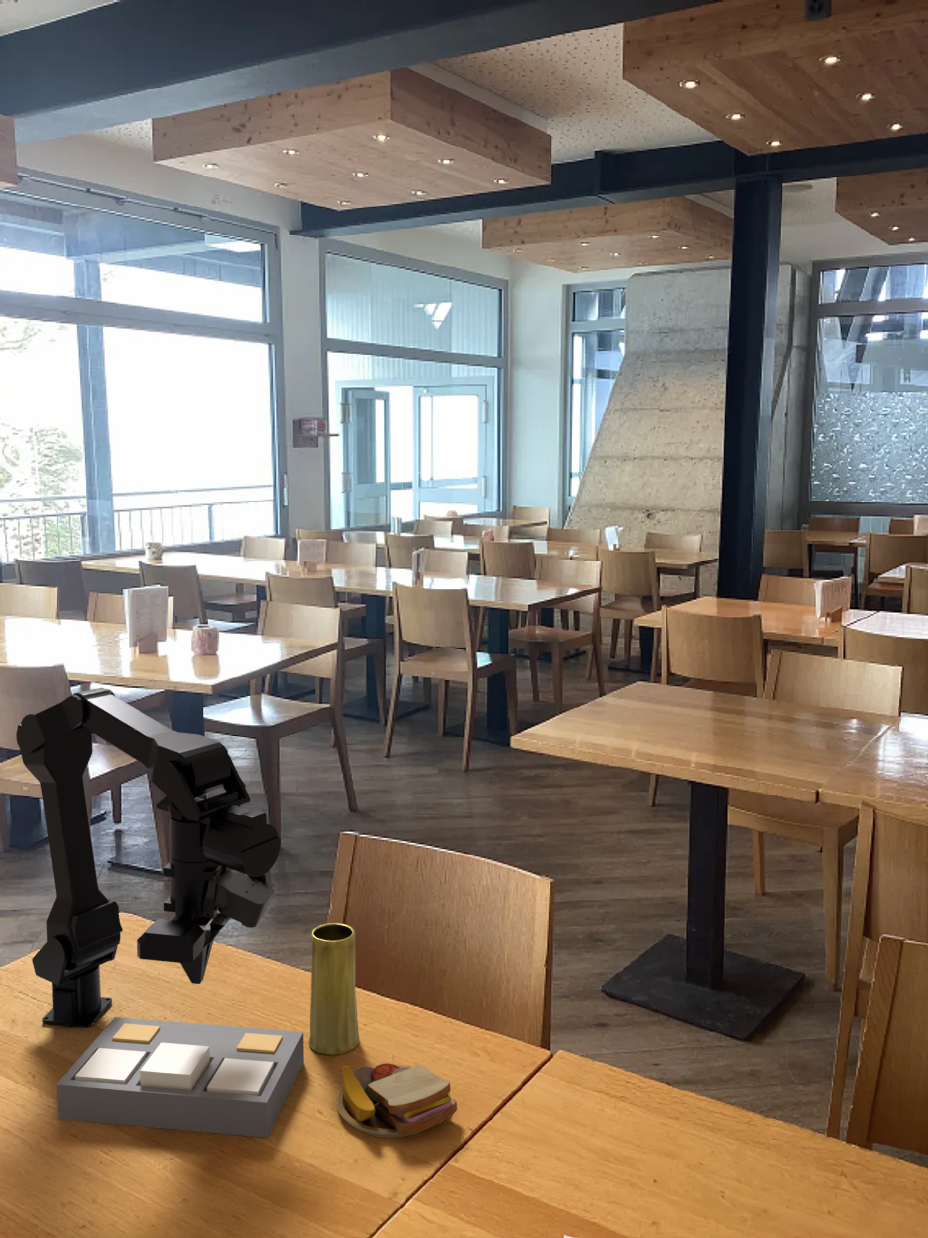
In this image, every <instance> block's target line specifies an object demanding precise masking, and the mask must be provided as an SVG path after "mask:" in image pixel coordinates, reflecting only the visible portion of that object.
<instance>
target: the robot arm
mask: <svg viewBox="0 0 928 1238" xmlns="http://www.w3.org/2000/svg"><path fill="white" fill-rule="evenodd" d="M94 735H96V736H97V737H98V738H100V739H101V740H104V741H106V742H107V743H108V744H110V745H112V746H113V747H115V748H116V749H118V750H120V751H121V752H123V753H125V754H126V755H127V756H129V757H131V758H132V759H134V760H136V761H137V762H138V763H140V764H142V765H143V766H144V767H145V768H147V770H148V774H149V778H150V782H151V783H152V784H153V785H154V786H155V787H156V788H157V789H159V790H160V792H161V793H163V794H164V795H165V796H164V797H163V798H162V799H161V800H160V801H158V802H157V803H156V805H155V807H156V809H157V810H159V811H161V812H165V813H168V814H169V862H168V863H167V864H166V865H164V866H163V870H162V871H163V873H162V875H163V877H164V878H165V877H166V878H169V879H170V880H169V889H170V892H169V893H170V896H168V898H167V899H165V901H164V902H163V911H164V912H166V913H167V912H168V913H169V912H170V913H175V916H174V917H173V918H171V919H162V918H158V919H156V920H155V921H154V922H153V923H152V924H150V925H149V927H147V929H146V930H145V931H144V932H143V933H142V934H141V935H140V936H139V937H138V938H137V940H136V951H137V952H136V953H137V957H138V959H140V960H146V961H147V960H148V961H157V962H166V963H176V964H180V966H181V967H182V969H183V971H184V972H185V974H186V976H187V978H188V980H189V981H190V983H191V984H192V985H200V984H201V983H202V982H203V981H204V977H205V974H206V971H207V967H208V963H209V959H210V955H211V951H212V947H213V944H214V941H215V939H216V937H217V936H218V935H219V933H220V931H221V930H222V929H223V928H224V927H225V926H226V924H227V923H229V921H230V920H231V919H232V920H234V921H237V922H238V923H240V924H241V925H242V926H243V927H245V928H251V929H253V928H256V927H257V926H258V924H259V922H260V921H261V920H262V919H263V917H264V916H265V915H266V912H267V910H268V906H269V905H270V902H271V901H272V900H271V899H272V897H273V896H274V894H275V890H274V887H275V883H272V874H271V873H272V872H271V869H272V868H273V866H274V865H275V863H277V862H276V861H277V859H278V858H279V854H280V851H281V843H282V842H281V837H279V833H278V830H277V829H276V828H275V826H274V825H272V824H269V823H268V822H267V821H268V814H267V812H264V811H261V810H257V809H256V810H255V809H253V810H252V809H249V808H245V807H242V806H243V805H246V804H250V802H251V797H250V795H249V793H248V791H247V789H246V788H247V786H246V784H245V783H244V781H243V779H242V778H241V776H240V774H239V772H238V770H237V768H236V766H235V764H234V762H233V759H232V758H231V756H230V754H229V750H228V749H227V747H226V746H225V745H224V744H223V743H221V742H220V741H219V740H216V739H213V738H210V737H207V736H204V735H201V734H197V733H187V732H178V731H175V730H173V729H171V728H169V727H167V726H166V725H164V724H162V723H160V722H159V721H158V720H156V719H153V718H152V717H150V716H149V715H147V714H145V713H143V711H141V710H138V709H137V708H135V707H133V706H132V705H130V704H129V703H127V702H126V701H123V700H122V699H120V698H118V697H117V696H116V695H115V693H114V692H113V691H112V690H111V689H108V688H104V687H98V688H92V689H88V690H84V691H79V692H75V693H72V694H71V695H70V696H68V697H66V698H64V699H63V700H62V701H60V702H59V703H56V704H54V705H51V706H49V707H47V708H46V709H44V710H42V711H37V712H33V713H30V714H25V716H24V717H23V718H22V720H21V722H20V723H19V724H18V726H17V729H16V735H15V736H16V739H15V740H16V742H17V746H18V747H19V750H20V755H21V758H22V763H23V765H24V767H25V768H26V769H27V770H28V771H29V772H30V773H31V774H32V776H33V777H35V779H36V780H37V781H38V782H39V784H40V790H41V795H42V796H41V797H42V798H41V799H42V803H43V804H42V805H43V810H44V818H45V823H46V824H45V825H46V832H47V839H48V846H49V853H50V860H51V867H52V874H53V881H54V887H55V895H56V896H55V899H54V902H53V905H52V907H51V909H50V912H49V914H48V917H47V919H46V942H45V944H43V946H42V947H41V948H40V949H39V950H38V951H37V952H36V954H35V955H34V956H33V957H32V959H31V961H32V964H33V966H32V967H33V969H34V973H35V975H36V976H37V977H39V978H41V979H44V980H45V981H48V982H49V983H51V990H52V991H51V997H52V1008H50V1010H49V1011H48V1012H47V1013H46V1014H45V1015H44V1016H43V1017H42V1018H41V1022H42V1024H49V1025H60V1026H73V1027H74V1026H76V1027H87V1028H88V1027H92V1025H94V1023H95V1022H96V1021H97V1020H98V1019H99V1018H100V1017H101V1015H102V1014H103V1013H104V1012H105V1011H106V1010H107V1009H108V1007H109V1006H110V1005H111V1004H112V1003H113V998H112V997H105V996H104V997H103V996H102V994H101V993H102V992H101V972H100V971H101V970H100V966H102V965H103V964H106V963H109V962H111V961H114V960H115V958H116V955H117V950H118V946H119V945H120V944H121V937H122V936H121V933H122V932H123V930H124V929H123V927H122V924H121V920H120V906H119V904H118V903H117V902H116V900H112V901H110V900H109V899H108V897H107V896H106V895H105V894H104V893H103V892H102V891H101V890H100V889H99V883H98V877H97V869H96V861H95V855H94V848H93V847H94V846H93V840H92V835H91V834H92V832H91V827H90V821H89V820H90V819H89V812H88V805H87V804H88V803H87V798H86V793H85V792H86V791H85V783H84V774H85V772H86V769H87V767H88V764H89V763H90V760H91V759H92V755H93V736H94ZM222 789H223V790H224V792H222V793H219V794H216V795H214V796H210V797H208V798H204V799H203V798H201V797H202V796H206V795H208V794H210V793H213V792H216V791H219V790H222Z"/></svg>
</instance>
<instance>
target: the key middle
mask: <svg viewBox="0 0 928 1238" xmlns="http://www.w3.org/2000/svg"><path fill="white" fill-rule="evenodd" d="M209 1065H210V1055H209V1046H198V1045H185V1044H173V1043H160V1045H159V1046H158V1047H157V1049H156V1050H155V1052H154V1053H153V1054H152V1056H151V1057H150V1058H149V1060H148V1061H147V1062H146V1064H145V1065H144V1066H143V1068H142V1069H141V1070H140V1082H141V1086H147V1087H158V1088H170V1089H182V1090H194V1088H195V1087H196V1085H197V1083H198V1082H199V1080H200V1079H201V1077H202V1076H203V1074H204V1072H205V1071H206V1069H207V1068H208V1066H209Z"/></svg>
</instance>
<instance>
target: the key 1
mask: <svg viewBox="0 0 928 1238" xmlns="http://www.w3.org/2000/svg"><path fill="white" fill-rule="evenodd" d="M145 1060H146V1052H143V1051H131V1050H119V1049H106V1048H98V1050H97V1051H96V1052H95V1053H94V1054H93V1056H92V1057H91V1058H90V1059H89V1060H88V1061H87V1063H86V1064H85V1065H84V1066H83V1067H82V1068H81V1070H80V1071H79V1072H78V1073H77V1074H76V1076H75V1080H77V1081H88V1082H100V1083H112V1084H123V1085H127V1083H128V1082H129V1081H130V1079H131V1078H132V1077H133V1075H134V1074H135V1073H136V1072H137V1070H138V1069H139V1068H140V1066H141V1065H142V1064H143V1062H144V1061H145Z"/></svg>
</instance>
